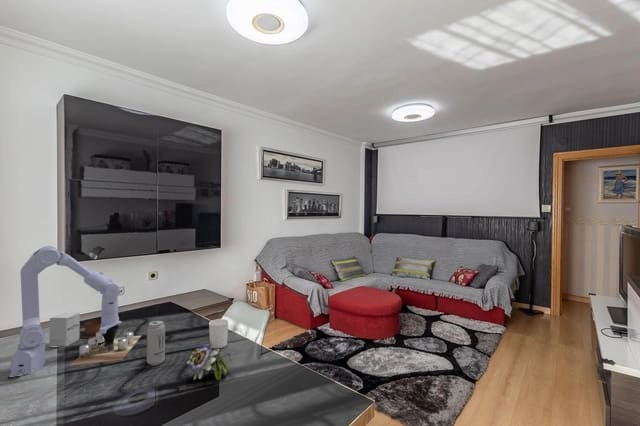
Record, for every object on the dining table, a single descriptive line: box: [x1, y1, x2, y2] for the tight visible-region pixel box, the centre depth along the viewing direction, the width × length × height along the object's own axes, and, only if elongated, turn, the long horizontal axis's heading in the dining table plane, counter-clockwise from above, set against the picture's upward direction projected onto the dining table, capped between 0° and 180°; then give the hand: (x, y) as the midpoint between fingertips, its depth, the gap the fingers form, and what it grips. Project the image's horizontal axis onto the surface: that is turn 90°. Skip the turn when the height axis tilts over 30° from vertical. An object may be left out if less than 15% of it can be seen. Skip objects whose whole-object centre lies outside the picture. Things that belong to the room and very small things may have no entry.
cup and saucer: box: [79, 319, 101, 339], centre depth 141 cm, size 12×12×6 cm
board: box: [69, 335, 142, 366], centre depth 125 cm, size 24×17×1 cm
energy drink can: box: [146, 320, 166, 367], centre depth 115 cm, size 6×6×15 cm
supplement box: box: [48, 312, 81, 347], centre depth 131 cm, size 7×7×13 cm
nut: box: [99, 342, 114, 353], centre depth 123 cm, size 5×4×2 cm
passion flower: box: [186, 341, 233, 382], centre depth 107 cm, size 13×12×14 cm
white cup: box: [208, 318, 229, 349], centre depth 130 cm, size 8×8×10 cm
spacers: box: [79, 331, 134, 358], centre depth 127 cm, size 17×15×4 cm
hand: (109, 344), depth 126 cm, fingers closed
